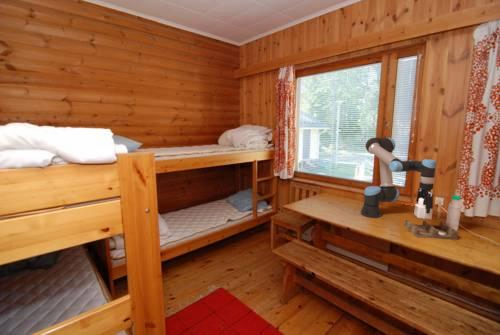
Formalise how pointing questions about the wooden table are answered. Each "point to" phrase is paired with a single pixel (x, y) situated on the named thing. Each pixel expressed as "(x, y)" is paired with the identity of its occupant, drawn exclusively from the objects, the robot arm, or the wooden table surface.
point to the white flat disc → (441, 232)
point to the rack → (431, 230)
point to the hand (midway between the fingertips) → (422, 215)
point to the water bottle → (454, 212)
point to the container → (421, 209)
